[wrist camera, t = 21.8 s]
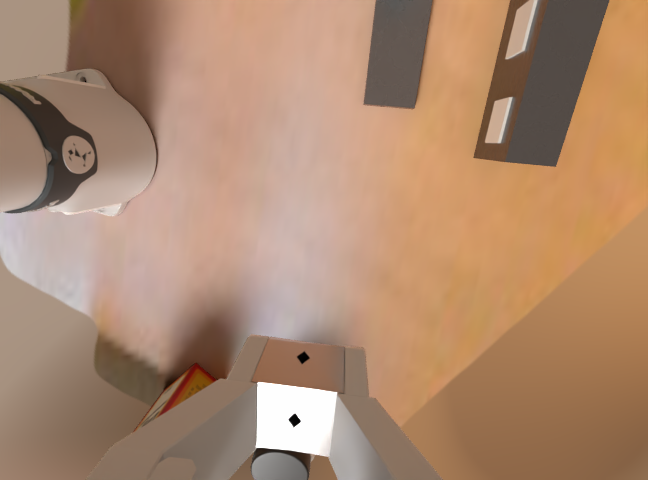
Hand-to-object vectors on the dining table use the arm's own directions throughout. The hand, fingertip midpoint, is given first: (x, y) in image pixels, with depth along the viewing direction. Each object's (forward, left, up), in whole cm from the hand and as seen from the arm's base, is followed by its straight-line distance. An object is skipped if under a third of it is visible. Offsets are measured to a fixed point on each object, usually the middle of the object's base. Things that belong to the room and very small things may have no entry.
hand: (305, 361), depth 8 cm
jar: (-4, -38, -34) cm, 51 cm away
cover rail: (+5, +17, -34) cm, 38 cm away
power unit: (+19, +14, -34) cm, 41 cm away
